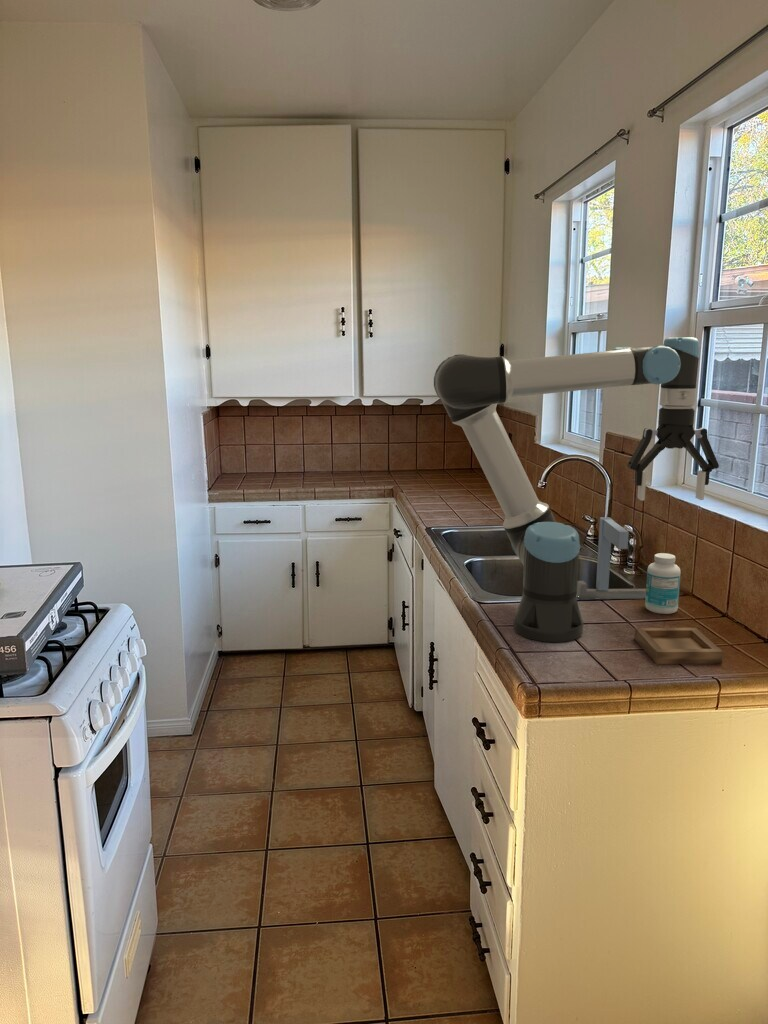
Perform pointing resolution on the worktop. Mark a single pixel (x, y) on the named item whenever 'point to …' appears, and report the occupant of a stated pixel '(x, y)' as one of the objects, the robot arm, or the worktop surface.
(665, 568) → the pill bottle
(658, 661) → the open box
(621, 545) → the bar
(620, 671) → the worktop surface
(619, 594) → the gate rail
